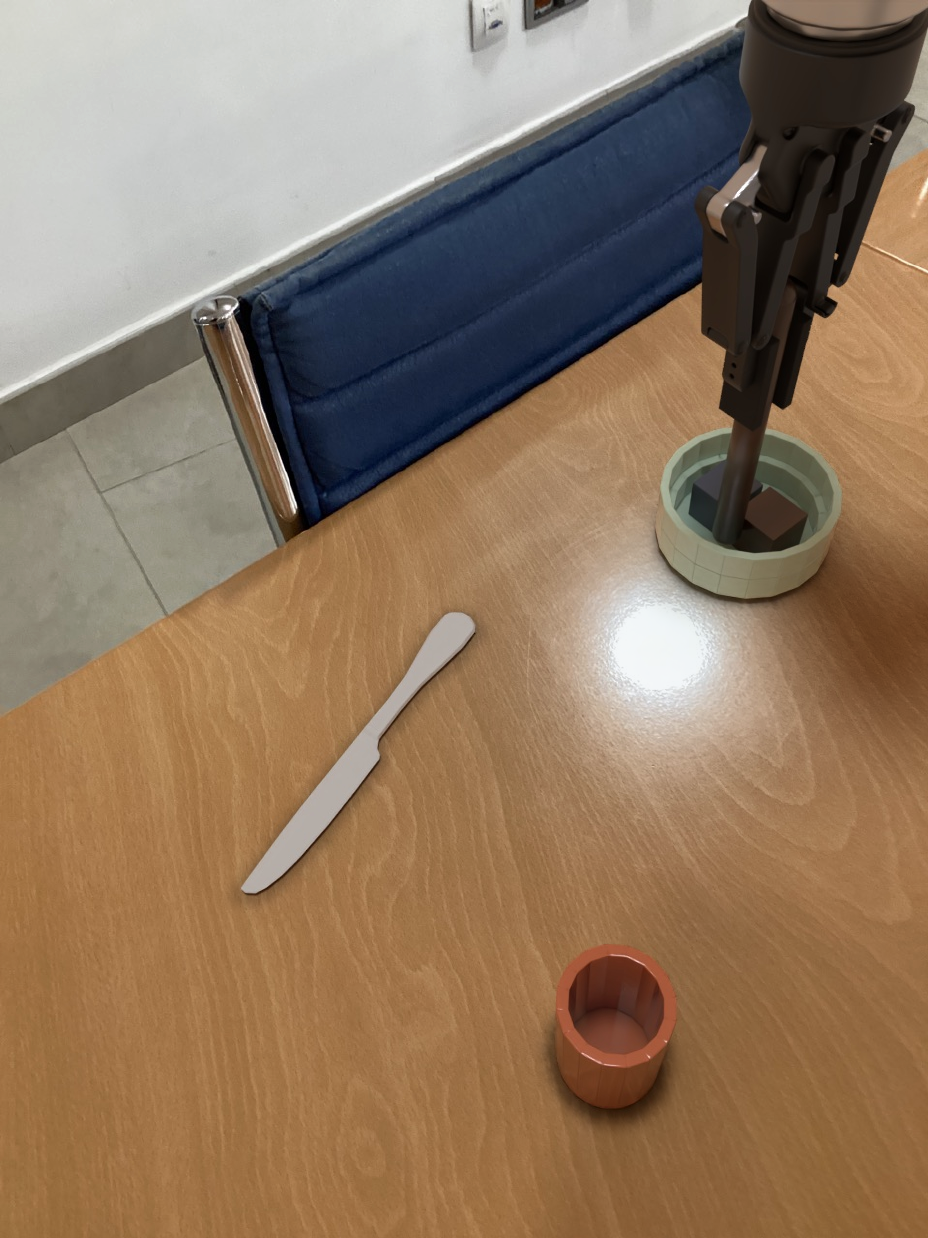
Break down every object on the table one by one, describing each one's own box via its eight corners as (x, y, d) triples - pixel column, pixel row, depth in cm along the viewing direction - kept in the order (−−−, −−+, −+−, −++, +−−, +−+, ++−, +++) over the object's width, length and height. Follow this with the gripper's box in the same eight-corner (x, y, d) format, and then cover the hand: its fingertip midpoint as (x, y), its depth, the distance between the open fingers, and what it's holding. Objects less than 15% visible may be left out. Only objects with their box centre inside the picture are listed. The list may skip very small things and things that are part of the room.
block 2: (799, 546, 76) (808, 514, 73) (765, 571, 75) (773, 540, 72) (762, 518, 77) (770, 485, 74) (728, 542, 76) (735, 511, 73)
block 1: (756, 516, 77) (764, 484, 75) (722, 541, 76) (729, 509, 74) (720, 489, 79) (727, 457, 76) (687, 514, 78) (692, 482, 75)
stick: (745, 540, 74) (808, 279, 56) (725, 555, 74) (783, 296, 56) (724, 524, 75) (779, 262, 57) (704, 539, 75) (754, 279, 57)
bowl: (862, 539, 76) (879, 493, 72) (745, 633, 73) (756, 590, 68) (735, 448, 82) (745, 401, 78) (620, 531, 78) (624, 485, 74)
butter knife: (484, 622, 74) (450, 605, 75) (263, 905, 63) (227, 879, 64) (485, 626, 74) (450, 608, 75) (265, 907, 64) (229, 882, 65)
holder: (681, 1060, 57) (702, 1011, 49) (605, 1133, 56) (613, 1094, 47) (609, 980, 60) (618, 920, 52) (535, 1046, 58) (531, 996, 50)
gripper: (883, -89, 49) (790, 319, 68) (650, 32, 44) (621, 434, 63) (1027, -38, 45) (886, 378, 65) (789, 100, 41) (714, 505, 60)
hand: (755, 405), depth 64 cm, fingers closed on stick, 2 cm apart
